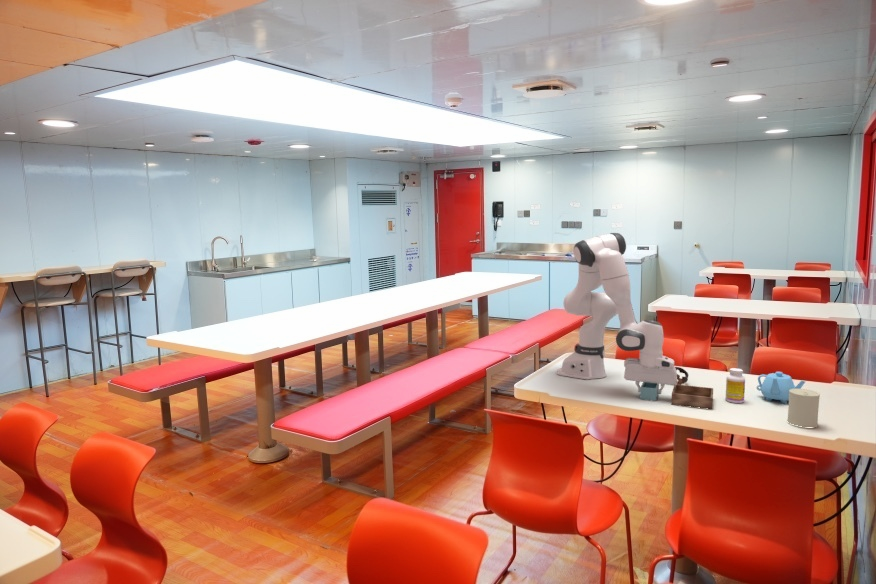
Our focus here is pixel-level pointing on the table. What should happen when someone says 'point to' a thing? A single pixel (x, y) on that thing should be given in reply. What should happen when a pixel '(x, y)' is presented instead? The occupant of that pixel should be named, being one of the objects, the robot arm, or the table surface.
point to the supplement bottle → (735, 386)
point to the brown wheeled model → (684, 379)
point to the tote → (649, 391)
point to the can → (803, 407)
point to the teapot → (777, 386)
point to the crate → (692, 396)
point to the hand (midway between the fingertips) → (649, 392)
